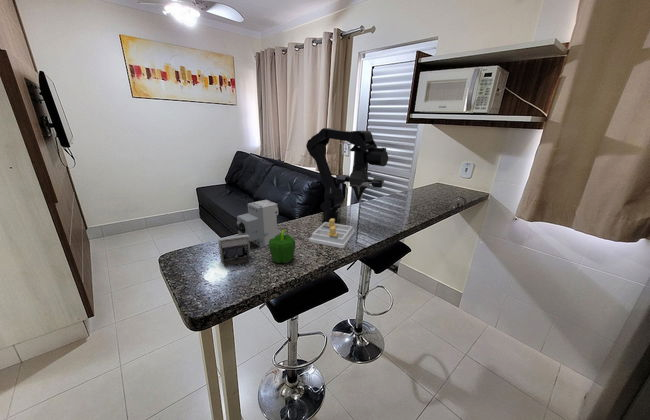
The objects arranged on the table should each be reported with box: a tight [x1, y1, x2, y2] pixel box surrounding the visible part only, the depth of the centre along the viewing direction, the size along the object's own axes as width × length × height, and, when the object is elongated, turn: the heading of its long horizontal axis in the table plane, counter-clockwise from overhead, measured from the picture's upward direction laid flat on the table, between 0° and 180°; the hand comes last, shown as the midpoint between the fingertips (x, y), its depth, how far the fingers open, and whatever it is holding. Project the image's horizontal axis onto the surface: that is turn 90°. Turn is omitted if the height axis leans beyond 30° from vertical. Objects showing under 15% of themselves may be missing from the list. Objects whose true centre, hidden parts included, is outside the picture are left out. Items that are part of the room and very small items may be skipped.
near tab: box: [328, 226, 338, 237], centre depth 97 cm, size 3×3×4 cm
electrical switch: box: [217, 235, 251, 266], centre depth 80 cm, size 9×5×9 cm, turn 113°
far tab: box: [328, 218, 336, 227], centre depth 105 cm, size 3×3×4 cm
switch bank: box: [308, 222, 356, 249], centre depth 101 cm, size 14×16×3 cm
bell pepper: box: [268, 229, 296, 264], centre depth 82 cm, size 8×8×10 cm
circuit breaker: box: [235, 199, 280, 248], centre depth 92 cm, size 8×14×15 cm, turn 135°
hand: (358, 201), depth 105 cm, fingers closed
